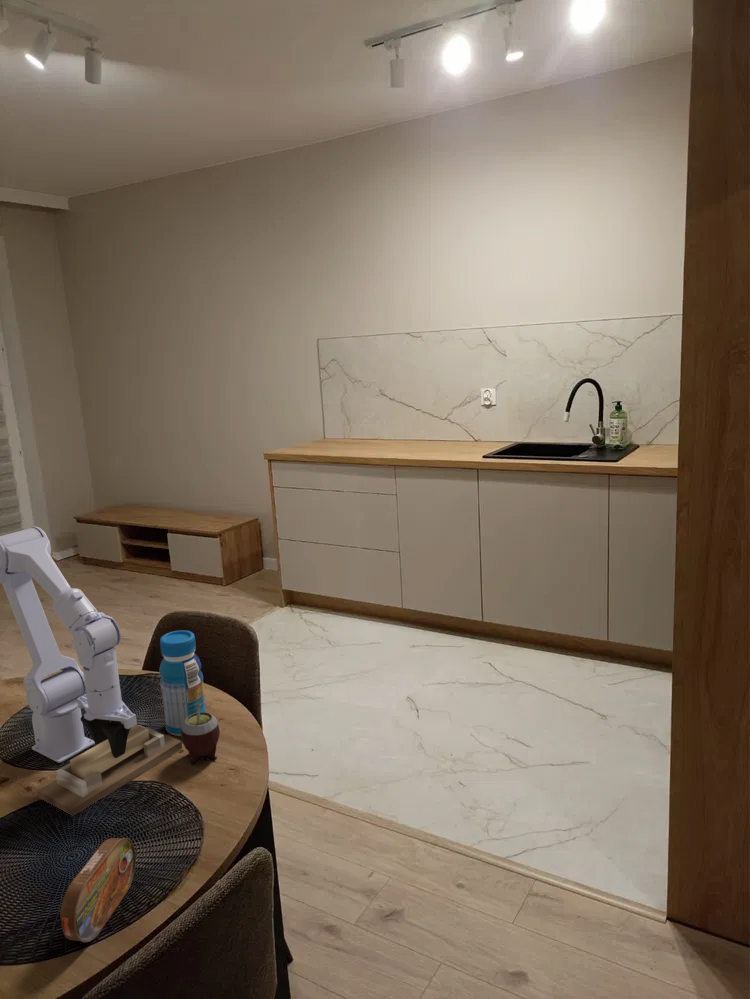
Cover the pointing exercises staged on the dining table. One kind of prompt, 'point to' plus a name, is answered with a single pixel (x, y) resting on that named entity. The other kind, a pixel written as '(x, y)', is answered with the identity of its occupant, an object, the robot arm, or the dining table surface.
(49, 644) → the robot arm
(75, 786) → the endcap rail
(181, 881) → the dining table surface
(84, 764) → the slat
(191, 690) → the beverage bottle
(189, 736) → the mate gourd
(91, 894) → the tin
